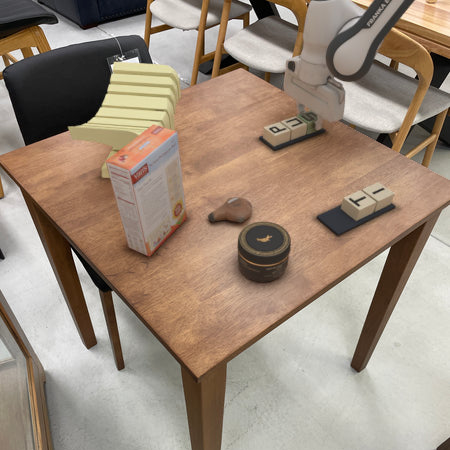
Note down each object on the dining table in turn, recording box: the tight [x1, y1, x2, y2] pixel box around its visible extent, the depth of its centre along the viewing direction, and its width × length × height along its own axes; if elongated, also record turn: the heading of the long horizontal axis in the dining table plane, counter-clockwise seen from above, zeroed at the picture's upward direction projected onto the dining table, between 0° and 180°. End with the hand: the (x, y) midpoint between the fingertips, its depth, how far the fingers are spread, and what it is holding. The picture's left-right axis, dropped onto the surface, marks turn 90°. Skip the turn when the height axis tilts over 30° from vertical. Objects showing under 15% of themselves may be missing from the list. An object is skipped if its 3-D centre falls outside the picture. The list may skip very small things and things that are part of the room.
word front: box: [315, 181, 396, 237], centre depth 95 cm, size 17×7×4 cm, turn 123°
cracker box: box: [105, 124, 188, 257], centre depth 85 cm, size 14×6×21 cm, turn 149°
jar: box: [236, 221, 292, 283], centre depth 84 cm, size 10×10×8 cm
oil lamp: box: [207, 196, 253, 223], centre depth 95 cm, size 9×4×8 cm
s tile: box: [296, 109, 323, 134], centre depth 117 cm, size 5×5×3 cm
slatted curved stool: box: [67, 61, 182, 179], centre depth 102 cm, size 30×16×18 cm, turn 172°
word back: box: [258, 115, 326, 152], centre depth 116 cm, size 17×7×4 cm, turn 123°
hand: (309, 123), depth 118 cm, fingers closed on s tile, 5 cm apart
